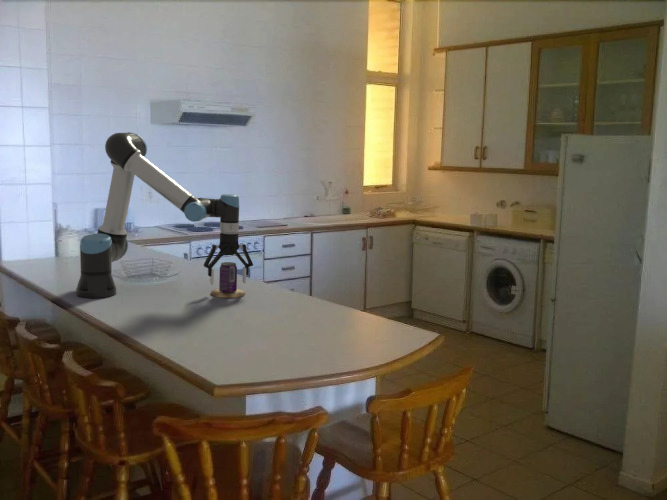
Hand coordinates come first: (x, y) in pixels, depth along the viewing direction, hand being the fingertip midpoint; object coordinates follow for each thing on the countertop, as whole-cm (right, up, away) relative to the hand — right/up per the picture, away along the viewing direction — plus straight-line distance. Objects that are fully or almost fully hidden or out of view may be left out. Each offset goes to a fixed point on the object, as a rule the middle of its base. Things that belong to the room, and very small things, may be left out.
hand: (228, 283), depth 286 cm
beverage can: (0, -4, +1) cm, 4 cm away
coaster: (0, -4, +1) cm, 4 cm away
